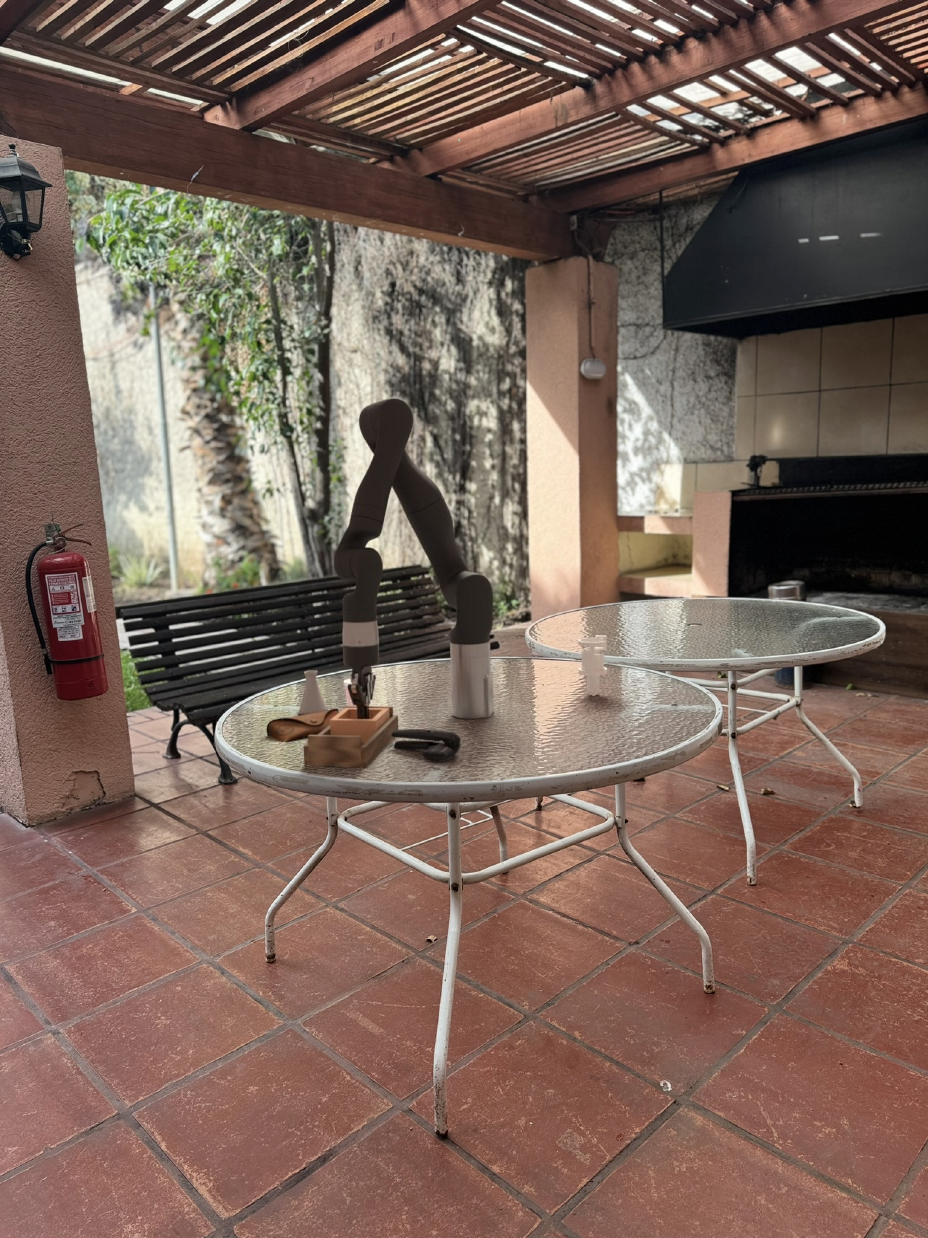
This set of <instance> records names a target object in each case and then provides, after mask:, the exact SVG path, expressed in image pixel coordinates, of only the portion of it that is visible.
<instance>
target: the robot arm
mask: <svg viewBox="0 0 928 1238" xmlns="http://www.w3.org/2000/svg"><path fill="white" fill-rule="evenodd" d="M413 426H414V414H413V410H412V409H411V406H410V405H409V403H407V402H406V400H404V399H402V398H399V397H388V398H385V399H381V400H379V401H376V402H373V403H371V404H368V405H366V406H365V407H363V408H362V410H361V411H360V413H359V417H358V427H359V431H360V433H361V436H362V438H363V439H364V441H365V443H366V444H367V446H368V448H369V449H370V451H371V453H372V454H373V457H372V459H371V461H370V463H369V466H368V468H367V470H366V472H365V474H364V475H363V478H362V479H361V482H360V483H359V485H358V487H357V490H356V493H355V496H354V500H353V504H352V508H351V512H350V513H351V514H350V519H349V522H348V523H349V524H348V525H347V528H346V529H345V531H344V532H343V533H344V534H343V536H342V537H341V539H340V541H339V543H338V545H337V548H336V550H335V551H334V557H333V569H334V571H335V574H336V575H337V577H338V578H339V579H341V580H344V581H348V582H350V581H351V582H354V581H355V582H356V584H355V588H354V590H353V591H352V592H348V593H346V594H345V595H344V596H343V598H342V622H343V623H342V632H341V633H342V650H343V651H342V657H343V659H342V660H343V664H344V666H346V667H350V668H351V674H350V677H349V679H351V683H352V684H348V691H349V694H350V697H351V700H352V703H353V705H356V706H357V719H369V706H371V701H373V698H374V691H375V686H376V679H377V676H376V674H374V672H373V669H372V666H374V667H375V666H377V665H378V664H379V663H380V643H379V641H380V640H379V627H378V620H377V615H378V613H377V600H378V595H379V591H380V586H381V581H382V578H383V571H384V565H383V564H384V563H383V559H382V557H381V555H380V552H379V551H377V549H375V548H373V547H368V546H367V545H368V543H369V542H370V541H373V540H374V539H377V538H379V537H380V536H381V534H382V532H383V528H384V527H383V526H384V523H385V518H386V512H387V510H388V509H387V507H388V503H389V499H390V495H391V491H392V489H393V492H394V494H395V496H396V498H397V499H398V501H399V503H400V505H401V508H402V510H403V513H404V514H405V516H406V518H407V521H408V522H409V524H410V526H411V528H412V530H413V532H414V534H415V535H416V538H417V540H418V542H419V543H420V546H421V547H422V550H423V551H424V553H425V556H426V557H427V559H428V561H429V563H430V565H431V567H432V570H433V573H434V575H435V578H436V581H437V583H438V586H439V589H440V592H441V595H442V597H443V598H444V601H445V602H446V604H447V605H448V606H449V607H451V608H452V609H453V610H456V611H455V613H456V616H455V619H456V620H455V625H454V627H453V628H451V629H450V631H449V649H450V650H449V651H450V652H449V653H450V681H451V684H450V685H451V708H452V716H453V717H455V718H459V719H467V720H468V719H470V720H471V719H481V718H491V716H492V714H493V713H494V711H495V709H494V679H493V677H494V676H493V675H494V674H493V671H492V669H491V668H492V667H491V663H492V662H491V632H492V629H493V625H494V593H493V586H492V584H491V581H490V580H489V579H488V578H487V577H486V576H485V575H483V574H482V573H479V572H472V571H470V570H469V569H468V567H467V565H466V563H465V561H464V559H463V558H462V556H461V554H460V552H459V550H458V547H457V543H456V538H455V527H454V522H453V516H452V513H451V511H450V509H449V506H448V504H447V503H446V502H447V501H446V500H445V497H444V496H443V493H442V492H441V489H440V488H439V487H438V486H437V484H436V483H435V482H434V481H433V480H432V478H430V477H429V475H428V474H426V473H425V472H424V471H423V470H422V469H421V468H420V467H419V466H418V465H417V464H416V463H415V462H414V460H412V458H411V456H410V455H409V453H408V451H407V450H406V446H407V444H408V442H409V439H410V435H411V433H412V429H413Z"/></svg>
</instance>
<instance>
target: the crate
mask: <svg viewBox="0 0 928 1238" xmlns="http://www.w3.org/2000/svg"><path fill="white" fill-rule="evenodd" d="M389 719H390V713H389V708H369V719H357V708H345V707H344V708H343V709H342V710H341V711H339V713H338V714H337V715H336V716H334V717H333V718H332V719H331V720H330V734H331V735H351V736H362V743H365V742H366V741H368V740H369V739H370V738H371V737H372V736H373V735H374V734H375V733H376V732H377V731H378V730H379V729H380V728H381V727H382V726H383V725H384V724H385V723H386V722H387V721H388V720H389Z"/></svg>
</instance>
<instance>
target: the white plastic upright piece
mask: <svg viewBox="0 0 928 1238" xmlns="http://www.w3.org/2000/svg"><path fill="white" fill-rule="evenodd" d="M577 642H578V643H577V646H580V647H584V648H582V650H581V655H580V656H581V657H580V658H581V666H580V667H578V674H579V675H580V676H586V692H587V691H592V692H594V691H599V692H600V676H604V675H607V674H608V668H607V667H605V652H604V651H608V637H607V635H599V634H596V635H595V637H585V638H584V637H583V638H579V639H578V640H577ZM601 651H602V653H601Z"/></svg>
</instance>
